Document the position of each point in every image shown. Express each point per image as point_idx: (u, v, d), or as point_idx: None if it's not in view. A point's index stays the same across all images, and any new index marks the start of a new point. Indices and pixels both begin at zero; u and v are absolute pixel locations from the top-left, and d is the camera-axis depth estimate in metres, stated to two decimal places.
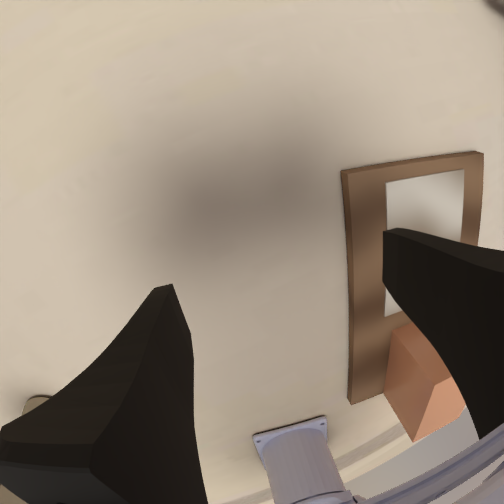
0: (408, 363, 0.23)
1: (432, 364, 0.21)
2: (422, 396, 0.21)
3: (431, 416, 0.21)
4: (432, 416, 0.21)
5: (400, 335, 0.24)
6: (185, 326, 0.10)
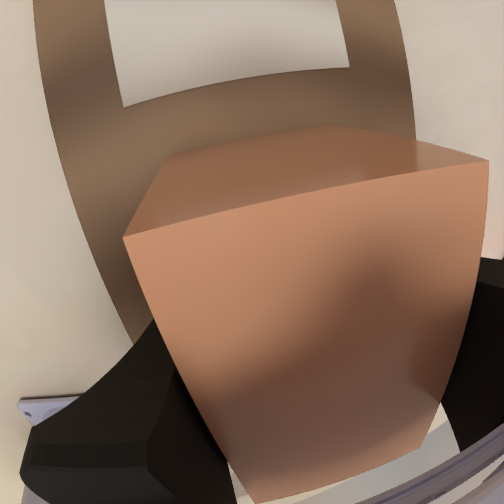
0: None
1: (198, 183, 0.05)
2: None
3: (271, 443, 0.06)
4: (280, 444, 0.06)
5: (177, 158, 0.09)
6: None
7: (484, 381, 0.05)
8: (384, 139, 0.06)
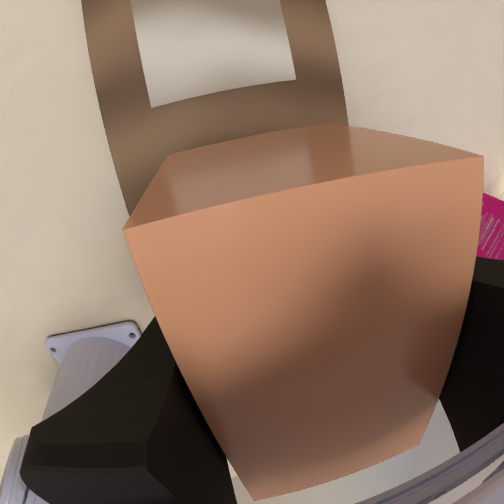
0: None
1: (197, 179, 0.05)
2: None
3: (270, 438, 0.06)
4: (278, 439, 0.06)
5: (176, 157, 0.09)
6: None
7: (484, 380, 0.05)
8: (381, 137, 0.06)
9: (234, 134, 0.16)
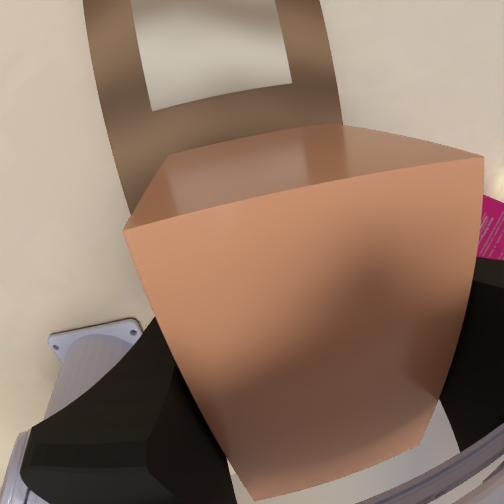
0: None
1: (197, 179, 0.05)
2: None
3: (270, 439, 0.06)
4: (279, 440, 0.06)
5: (176, 157, 0.09)
6: None
7: (484, 380, 0.05)
8: (381, 137, 0.06)
9: (232, 136, 0.17)
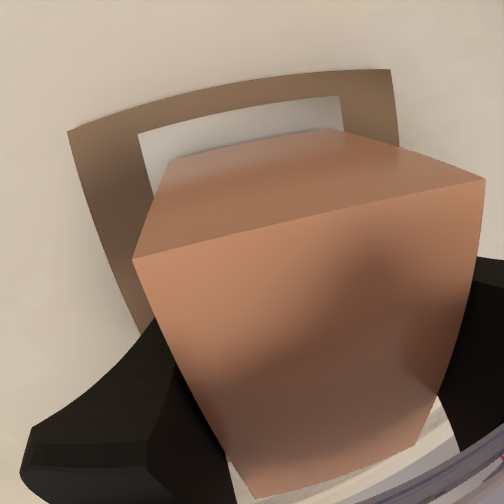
0: None
1: (202, 197, 0.06)
2: None
3: (271, 443, 0.06)
4: (280, 444, 0.06)
5: (178, 163, 0.09)
6: None
7: (484, 381, 0.05)
8: (383, 150, 0.07)
9: None
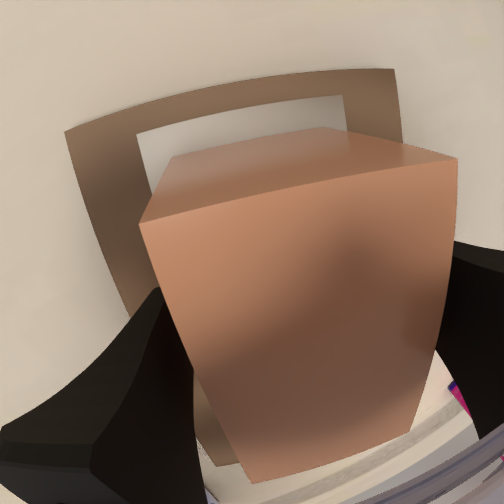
0: None
1: (201, 181, 0.06)
2: None
3: (265, 417, 0.07)
4: (274, 419, 0.07)
5: (180, 159, 0.10)
6: None
7: None
8: (367, 141, 0.07)
9: None
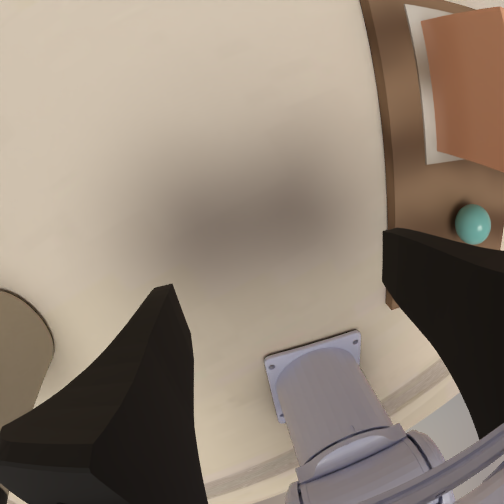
0: (456, 32, 0.12)
1: None
2: (496, 51, 0.10)
3: None
4: None
5: None
6: (185, 326, 0.10)
7: None
8: None
9: (462, 190, 0.20)
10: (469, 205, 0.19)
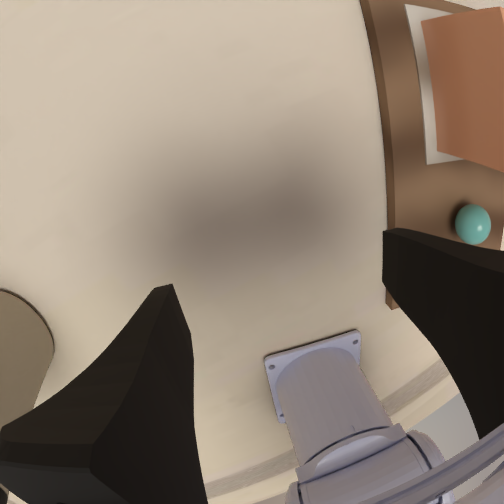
0: (456, 32, 0.12)
1: None
2: (496, 51, 0.10)
3: None
4: None
5: None
6: (185, 326, 0.10)
7: None
8: None
9: (462, 190, 0.20)
10: (469, 205, 0.19)
